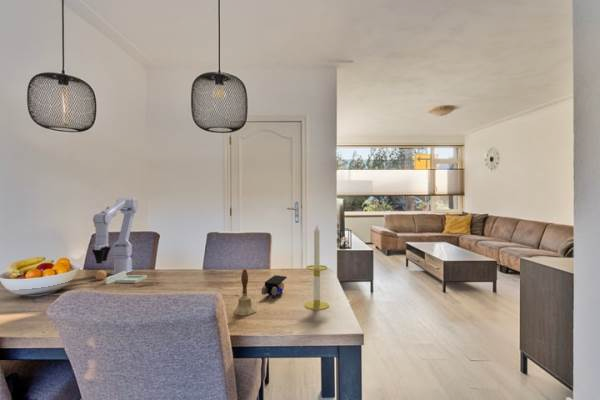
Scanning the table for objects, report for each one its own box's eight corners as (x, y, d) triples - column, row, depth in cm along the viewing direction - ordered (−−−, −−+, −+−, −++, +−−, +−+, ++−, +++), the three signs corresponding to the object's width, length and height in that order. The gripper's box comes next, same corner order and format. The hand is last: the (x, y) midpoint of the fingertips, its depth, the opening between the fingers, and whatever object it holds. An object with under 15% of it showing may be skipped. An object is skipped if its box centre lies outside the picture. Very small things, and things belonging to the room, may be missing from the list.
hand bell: (229, 311, 123) (229, 269, 123) (247, 306, 129) (247, 266, 129) (242, 317, 117) (241, 273, 117) (260, 311, 123) (260, 269, 123)
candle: (308, 311, 124) (308, 225, 124) (301, 303, 133) (301, 223, 133) (333, 308, 126) (333, 225, 126) (324, 300, 136) (324, 223, 136)
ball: (99, 278, 175) (99, 269, 175) (108, 278, 174) (108, 269, 174) (93, 280, 170) (93, 271, 170) (102, 281, 169) (102, 271, 169)
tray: (128, 277, 177) (128, 275, 177) (146, 278, 176) (146, 275, 176) (115, 282, 166) (115, 279, 166) (135, 283, 165) (135, 280, 165)
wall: (124, 276, 180) (124, 270, 180) (126, 276, 179) (126, 271, 179) (105, 283, 164) (105, 277, 164) (107, 283, 163) (107, 277, 163)
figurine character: (276, 304, 136) (287, 290, 151) (275, 286, 136) (287, 274, 150) (261, 302, 138) (274, 289, 153) (260, 285, 138) (273, 273, 152)
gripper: (97, 235, 176) (97, 260, 176) (88, 237, 162) (87, 264, 162) (112, 234, 178) (112, 259, 177) (104, 237, 164) (103, 264, 163)
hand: (101, 262), depth 170 cm, fingers open, 7 cm apart
